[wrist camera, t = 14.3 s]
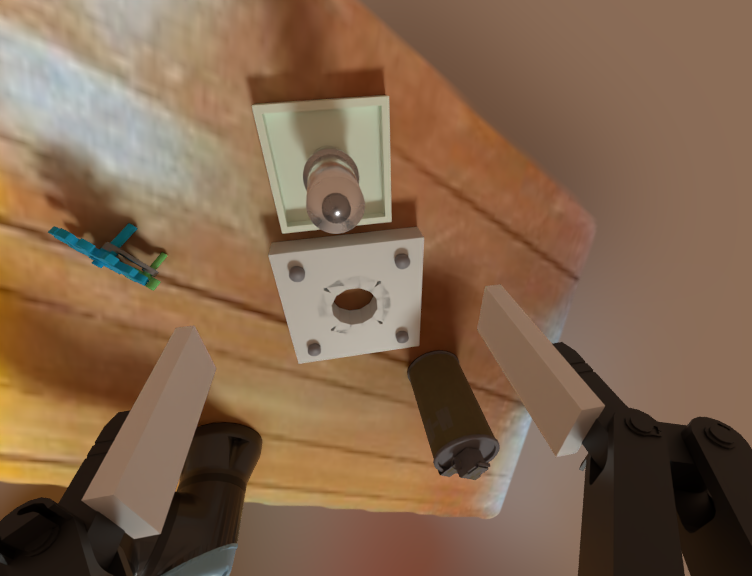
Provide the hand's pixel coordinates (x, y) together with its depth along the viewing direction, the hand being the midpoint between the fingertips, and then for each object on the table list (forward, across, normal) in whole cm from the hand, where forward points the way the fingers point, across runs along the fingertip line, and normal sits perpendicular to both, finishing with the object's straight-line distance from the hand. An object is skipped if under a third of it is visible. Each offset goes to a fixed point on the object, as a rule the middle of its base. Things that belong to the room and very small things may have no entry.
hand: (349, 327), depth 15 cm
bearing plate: (+29, +1, -19) cm, 34 cm away
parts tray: (+29, 0, 0) cm, 29 cm away
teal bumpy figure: (+29, -27, -7) cm, 40 cm away
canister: (+29, +15, -40) cm, 51 cm away
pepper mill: (+28, 0, 0) cm, 28 cm away
